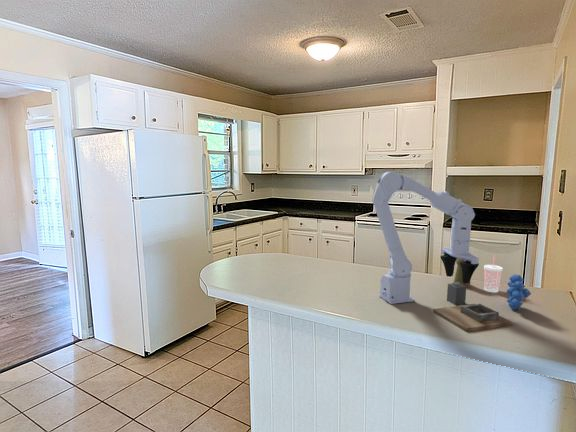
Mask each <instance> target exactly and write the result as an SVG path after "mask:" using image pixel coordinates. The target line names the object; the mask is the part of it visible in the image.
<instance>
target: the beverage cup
mask: <svg viewBox="0 0 576 432" xmlns="http://www.w3.org/2000/svg"><path fill="white" fill-rule="evenodd" d="M492 258H493V259H492V264H484V265H483V270H484V278H483V279H484V280H483V281H484V283H483V284H484V285H483V290H484V291H486V292H488V293H499V291H500V290H499V289H500V284H501V283H500V282H501V276H502V272H503V269H504V268H503V267H502V266H500V265H496V264H495V259H496V253H493V257H492Z"/></svg>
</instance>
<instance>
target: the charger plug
mask: <svg viewBox="0 0 576 432" xmlns="http://www.w3.org/2000/svg"><path fill="white" fill-rule="evenodd" d="M446 290H447V291H446V292H447V293H446V301H447V302H449V303H450V304H452V305H454V306H460V305H466V296H467V288H466V286H464V285H462V284H460V282H455V283H454V282H453V283H452V282H451V283H447V289H446Z"/></svg>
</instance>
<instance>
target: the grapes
mask: <svg viewBox="0 0 576 432" xmlns="http://www.w3.org/2000/svg"><path fill="white" fill-rule="evenodd" d="M508 279H509V282H508V283H507V285H508V287H509V288H508V289H507V290H506V292H505V293H506V294H507V296H508V297H509V298H508V299H507V300H506V302H507V303H508V304H507V305H508V306H509V308H510V309H511V310H512V311H517V310H518V309H519V308H521V307H522V305H523V302H522V300H523V299H524V298H525V299H526V298H528V297H530V296H531V295H532V292H531V291H530V290H529V289H528V288H525V287H526V286H525V284H524V283H523V281H524V278H523V276H521V275H520V274H516V273H515V274H512V275H511V276H510V277H509V278H508Z"/></svg>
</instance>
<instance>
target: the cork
mask: <svg viewBox="0 0 576 432" xmlns="http://www.w3.org/2000/svg"><path fill="white" fill-rule="evenodd" d="M460 262H466V261H465V260H462V259H459V258H457V259H456V262H455V264H456V265H457V266H456V271H455V273H454V274H455V276H454V280H453V283H455V282H460V284H462V285H464V286H466V289H467V288H471V286H472V285H471V281H470V282H469V283H465V284H464V283H463V281H462V268H461V265H460Z"/></svg>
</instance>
